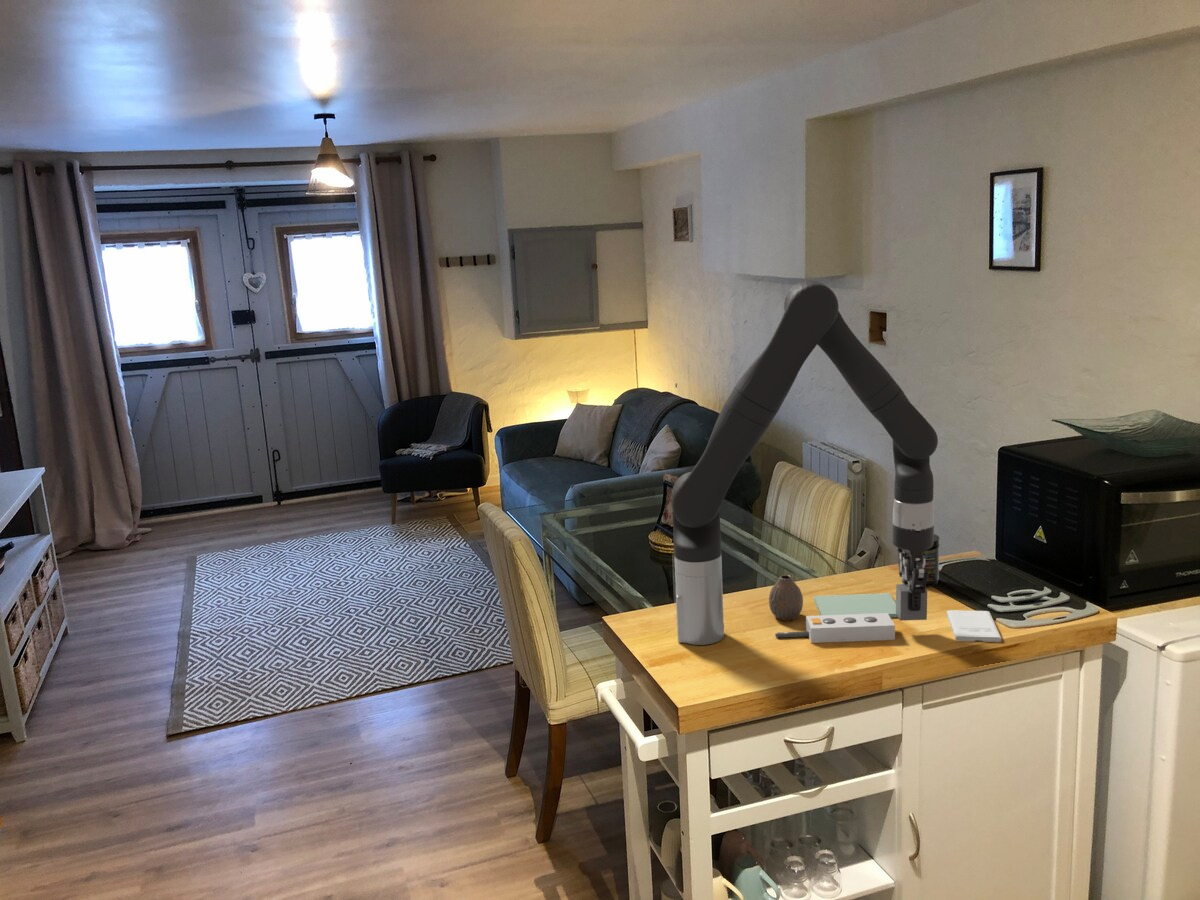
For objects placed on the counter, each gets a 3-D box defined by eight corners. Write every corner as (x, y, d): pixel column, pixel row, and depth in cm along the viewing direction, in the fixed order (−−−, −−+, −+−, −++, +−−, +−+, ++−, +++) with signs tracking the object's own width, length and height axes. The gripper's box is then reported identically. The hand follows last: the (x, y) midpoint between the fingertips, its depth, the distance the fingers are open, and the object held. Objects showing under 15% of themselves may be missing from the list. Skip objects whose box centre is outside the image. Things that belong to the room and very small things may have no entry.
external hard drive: (989, 618, 199) (1001, 644, 187) (946, 617, 200) (955, 643, 189) (989, 610, 198) (1001, 636, 187) (946, 609, 200) (955, 635, 188)
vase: (800, 624, 200) (800, 584, 198) (766, 622, 202) (765, 582, 200) (805, 611, 206) (804, 571, 204) (772, 609, 208) (771, 570, 206)
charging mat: (822, 620, 201) (822, 616, 201) (813, 599, 212) (813, 596, 212) (902, 617, 200) (902, 613, 200) (889, 596, 211) (889, 593, 211)
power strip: (777, 644, 192) (776, 628, 191) (773, 631, 198) (773, 615, 197) (894, 639, 190) (895, 623, 190) (887, 627, 196) (887, 611, 195)
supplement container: (945, 584, 216) (946, 538, 213) (920, 590, 214) (920, 544, 211) (925, 574, 222) (925, 530, 220) (900, 580, 220) (900, 535, 217)
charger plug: (900, 620, 191) (900, 590, 189) (895, 613, 194) (896, 584, 193) (926, 619, 190) (927, 590, 189) (921, 612, 194) (922, 583, 193)
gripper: (884, 511, 195) (883, 593, 199) (902, 534, 181) (900, 621, 185) (923, 509, 194) (921, 591, 198) (944, 532, 181) (941, 620, 185)
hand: (911, 605), depth 192 cm, fingers closed on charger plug, 3 cm apart
